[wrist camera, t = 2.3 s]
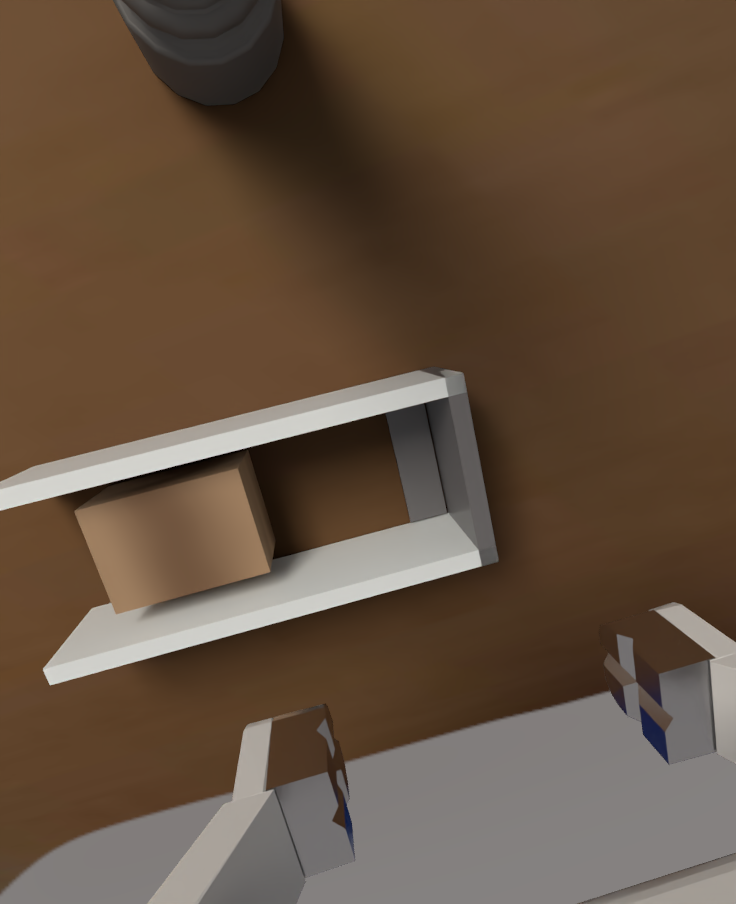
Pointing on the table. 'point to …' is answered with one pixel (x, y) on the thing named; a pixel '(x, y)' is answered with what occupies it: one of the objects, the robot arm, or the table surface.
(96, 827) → the table surface
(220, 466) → the light brown block
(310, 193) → the table surface
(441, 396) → the white channel
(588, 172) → the table surface
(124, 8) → the candle holder
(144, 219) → the table surface
